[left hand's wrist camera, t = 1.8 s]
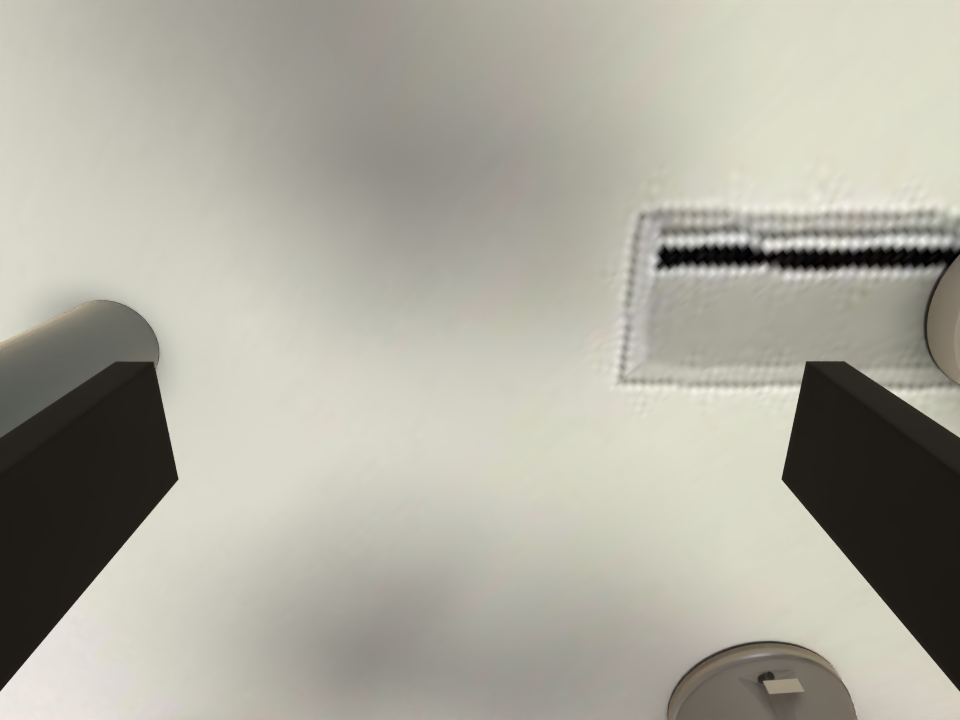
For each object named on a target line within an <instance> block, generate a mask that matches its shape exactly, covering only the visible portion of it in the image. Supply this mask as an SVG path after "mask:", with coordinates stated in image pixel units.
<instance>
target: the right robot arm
mask: <svg viewBox="0 0 960 720" xmlns="http://www.w3.org/2000/svg"><path fill="white" fill-rule="evenodd" d="M668 720H857V717H856V712H855V709H854V705H853V702H852V700H851V697H850V694H849V692H848V690H847V688H846V687H845V685H844V684H843V682H842V681H841V679H840V677H839V676H838V674H837V673H836V671H835V670H834V669H833V667H832V666H831V665H830V664H829V663H828V662H827V661H825V660H824V659H823V658H821V657H820V656H818V655H817V654H815V653H813V652H811V651H808V650H806V649H803V648H800V647H797V646H792V645H787V644H777V643H762V644H752V645H746V646H742V647H738V648H734V649H731V650H728V651H725V652H723V653H720V654H718V655H716V656H714V657H712V658H710V659H708V660H706V661H705V662H703V663H702V664H700V665H699V666H697V667H696V668H695V669H694V670H692V671H691V672H690V673H689V674H688V675H687V676H686V677H685V678H684V679H683V680H682V682H681V683H680V684H679V686H678V687H677V689H676V690H675V692H674V694H673V696H672V699H671V701H670V705H669V710H668Z"/></svg>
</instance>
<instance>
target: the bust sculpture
mask: <svg viewBox="0 0 960 720" xmlns="http://www.w3.org/2000/svg"><path fill="white" fill-rule="evenodd" d="M927 338H928V344H929V348H930V351H931V354H932V356H933V358H934V360H935V362H936V363H937V365H938V366H939V368H940V369H941V370H942V371H943V372H944V373H945V374H946V375H947V376H948V377H949V378H950V379H952V380H953V381H955V382H956V383H958V384H960V255H959V256H958V257H957V258H956V259H955V261H954V262H953V263H952V264H951V266H950V267H949V268H948V270H947V271H946V273H945V274H944V276H943V277H942V279H941V281H940V283H939V285H938V287H937V289H936V291H935V293H934V296H933V298H932V301H931V305H930V308H929V313H928V320H927Z"/></svg>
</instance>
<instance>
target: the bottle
mask: <svg viewBox="0 0 960 720" xmlns="http://www.w3.org/2000/svg"><path fill="white" fill-rule="evenodd" d="M158 358H159V348H158V343H157V340H156V337H155V335H154V332H153V331H152V329H151V327H150V326H149V325H148V323H147V322H146V321H145V320H144V319H143V318H142V317H141V316H140V315H139V314H137V313H136V312H135V311H133V310H132V309H130V308H128V307H126V306H124V305H122V304H119V303H115V302H111V301H92V302H88V303H85V304H83V305H81V306H78V307H76V308H74V309H72V310H70V311H68V312H66V313H63V314H61V315H59V316H57V317H55V318H53V319H50V320H48V321H46V322H44V323H42V324H40V325H37V326H35V327H33V328H31V329H29V330H27V331H25V332H22V333H20V334H18V335H16V336H14V337H12V338H9V339H7V340H5V341H3V342H1V343H0V438H1V437H2V436H4V435H5V434H7V433H8V432H10V431H11V430H13V429H14V428H16V427H17V426H19V425H20V424H22V423H23V422H25V421H26V420H28V419H29V418H31V417H32V416H34V415H36V414H37V413H39V412H40V411H42V410H43V409H45V408H46V407H48V406H49V405H51V404H52V403H54V402H55V401H57V400H58V399H60V398H61V397H63V396H64V395H66V394H67V393H69V392H70V391H72V390H73V389H75V388H76V387H78V386H79V385H81V384H82V383H84V382H85V381H87V380H88V379H90V378H91V377H93V376H94V375H96V374H97V373H99V372H101V371H102V370H104V369H105V368H107V367H108V366H110V365H111V364H113V363H114V362H116V361H154V365H155V368H156V366H157V363H158Z"/></svg>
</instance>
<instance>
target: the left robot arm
mask: <svg viewBox="0 0 960 720" xmlns="http://www.w3.org/2000/svg"><path fill="white" fill-rule="evenodd" d="M177 480H178V475H177V470H176V465H175V461H174V456H173V451H172V446H171V441H170V437H169V432H168V427H167V422H166V418H165V413H164V408H163V403H162V398H161V394H160V389H159V384H158V379H157V375H156V370H155V365H154V361H116V362H114V363H113V364H111V365H110V366H108V367H107V368H105V369H104V370H102V371H101V372H99V373H97V374H96V375H94V376H93V377H91V378H90V379H88V380H87V381H85V382H84V383H82V384H81V385H79V386H78V387H76V388H75V389H73V390H72V391H70V392H69V393H67V394H66V395H64V396H63V397H61V398H60V399H58V400H57V401H55V402H54V403H52V404H51V405H49V406H48V407H46V408H45V409H43V410H42V411H40V412H39V413H37V414H36V415H34V416H32V417H31V418H29V419H28V420H26V421H25V422H23V423H22V424H20V425H19V426H17V427H16V428H14V429H13V430H11V431H10V432H8V433H7V434H5V435H4V436H2V437H1V438H0V691H1V690H2V689H3V687H4V686H5V685H6V684H7V683H8V682H9V680H10V679H11V678H12V677H13V676H14V674H15V673H16V672H17V671H18V670H19V668H20V667H21V666H22V665H23V664H24V662H25V661H26V660H27V659H28V658H29V657H30V655H31V654H32V653H33V652H34V651H35V649H36V648H37V647H38V646H39V645H40V643H41V642H42V641H43V640H44V639H45V638H46V636H47V635H48V634H49V633H50V632H51V630H52V629H53V628H54V627H55V626H56V624H57V623H58V622H59V621H60V620H61V618H62V617H63V616H64V615H65V614H66V613H67V611H68V610H69V609H70V608H71V607H72V605H73V604H74V603H75V602H76V601H77V599H78V598H79V597H80V596H81V595H82V593H83V592H84V591H85V590H86V589H87V588H88V586H89V585H90V584H91V583H92V582H93V580H94V579H95V578H96V577H97V576H98V574H99V573H100V572H101V571H102V570H103V568H104V567H105V566H106V565H107V564H108V563H109V561H110V560H111V559H112V558H113V557H114V555H115V554H116V553H117V552H118V551H119V549H120V548H121V547H122V546H123V545H124V543H125V542H126V541H127V540H128V539H129V538H130V536H131V535H132V534H133V533H134V532H135V530H136V529H137V528H138V527H139V526H140V524H141V523H142V522H143V521H144V520H145V519H146V517H147V516H148V515H149V514H150V513H151V511H152V510H153V509H154V508H155V507H156V505H157V504H158V503H159V502H160V501H161V499H162V498H163V497H164V496H165V495H166V494H167V492H168V491H169V490H170V489H171V488H172V486H173V485H174V484H175V483H176V482H177ZM782 480H783V482H784V483H785V484H786V485H787V486H788V488H789V489H790V490H791V491H792V492H793V494H794V495H795V496H796V497H797V498H798V499H799V501H800V502H801V503H802V504H803V505H804V507H805V508H806V509H807V510H808V511H809V513H810V514H811V515H812V516H813V517H814V519H815V520H816V521H817V522H818V523H819V524H820V526H821V527H822V528H823V529H824V530H825V532H826V533H827V534H828V535H829V536H830V538H831V539H832V540H833V541H834V542H835V543H836V545H837V546H838V547H839V548H840V549H841V551H842V552H843V553H844V554H845V555H846V557H847V558H848V559H849V560H850V561H851V563H852V564H853V565H854V566H855V567H856V568H857V570H858V571H859V572H860V573H861V574H862V576H863V577H864V578H865V579H866V580H867V582H868V583H869V584H870V585H871V586H872V588H873V589H874V590H875V591H876V592H877V593H878V595H879V596H880V597H881V598H882V599H883V601H884V602H885V603H886V604H887V605H888V607H889V608H890V609H891V610H892V611H893V613H894V614H895V615H896V616H897V617H898V618H899V620H900V621H901V622H902V623H903V624H904V626H905V627H906V628H907V629H908V630H909V632H910V633H911V634H912V635H913V636H914V638H915V639H916V640H917V641H918V642H919V643H920V645H921V646H922V647H923V648H924V649H925V651H926V652H927V653H928V654H929V655H930V657H931V658H932V659H933V660H934V661H935V662H936V664H937V665H938V666H939V667H940V668H941V670H942V671H943V672H944V673H945V674H946V676H947V677H948V678H949V679H950V680H951V682H952V683H953V684H954V685H955V686H956V687H957V689H958V690H959V691H960V438H959V437H958V436H956V435H955V434H953V433H952V432H950V431H949V430H947V429H946V428H944V427H943V426H941V425H940V424H938V423H937V422H935V421H934V420H932V419H931V418H929V417H928V416H926V415H924V414H923V413H921V412H920V411H918V410H917V409H915V408H914V407H912V406H911V405H909V404H908V403H906V402H905V401H903V400H902V399H900V398H899V397H897V396H896V395H894V394H893V393H891V392H890V391H888V390H887V389H885V388H884V387H882V386H881V385H879V384H878V383H876V382H875V381H873V380H872V379H870V378H869V377H867V376H866V375H864V374H863V373H861V372H859V371H858V370H856V369H855V368H853V367H852V366H850V365H849V364H847V363H846V362H844V361H806V365H805V370H804V375H803V379H802V384H801V389H800V394H799V398H798V403H797V408H796V413H795V418H794V422H793V427H792V432H791V437H790V441H789V446H788V451H787V456H786V461H785V465H784V470H783V475H782Z"/></svg>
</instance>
